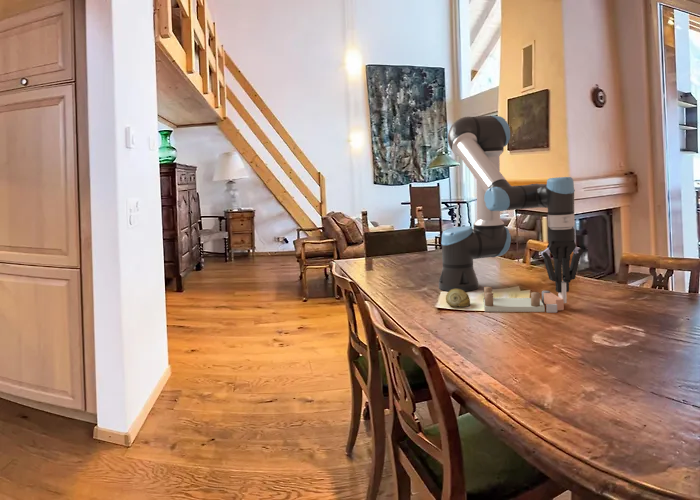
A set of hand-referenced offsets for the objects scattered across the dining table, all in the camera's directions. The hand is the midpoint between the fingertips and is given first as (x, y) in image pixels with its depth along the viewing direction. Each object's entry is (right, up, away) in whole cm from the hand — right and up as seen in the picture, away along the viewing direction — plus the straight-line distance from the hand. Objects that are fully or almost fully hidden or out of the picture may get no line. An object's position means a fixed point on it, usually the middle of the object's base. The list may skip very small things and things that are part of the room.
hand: (562, 302), depth 152 cm
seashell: (-30, -3, +12) cm, 33 cm away
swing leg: (-2, -2, +4) cm, 5 cm away
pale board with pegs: (-12, -2, +5) cm, 13 cm away
